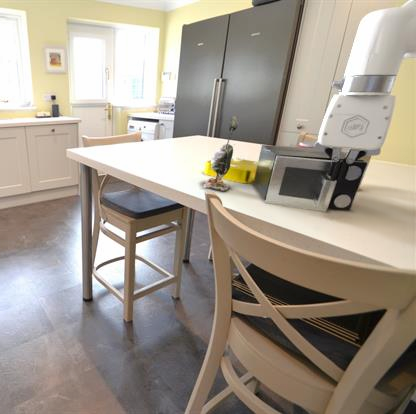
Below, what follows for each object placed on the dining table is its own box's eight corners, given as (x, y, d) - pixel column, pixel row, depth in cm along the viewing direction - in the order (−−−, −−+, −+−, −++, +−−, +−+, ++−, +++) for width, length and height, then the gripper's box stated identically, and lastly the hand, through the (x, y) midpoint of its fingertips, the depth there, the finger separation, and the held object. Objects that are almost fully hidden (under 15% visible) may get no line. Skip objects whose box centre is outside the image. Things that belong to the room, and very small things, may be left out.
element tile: (201, 174, 95) (203, 160, 94) (223, 167, 105) (225, 154, 103) (246, 184, 85) (249, 169, 83) (265, 176, 94) (269, 162, 93)
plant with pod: (235, 184, 85) (249, 115, 77) (223, 194, 77) (238, 117, 69) (208, 179, 90) (219, 113, 82) (194, 188, 81) (205, 115, 74)
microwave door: (332, 222, 61) (351, 169, 56) (266, 211, 66) (279, 161, 61) (324, 209, 67) (341, 161, 63) (265, 200, 72) (276, 155, 68)
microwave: (351, 213, 66) (370, 162, 62) (266, 204, 70) (278, 156, 66) (321, 191, 81) (335, 149, 76) (252, 185, 85) (261, 144, 80)
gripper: (318, 86, 55) (293, 178, 62) (427, 86, 47) (385, 191, 54) (317, 87, 60) (294, 171, 67) (414, 87, 53) (377, 181, 60)
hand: (335, 179), depth 61 cm, fingers closed
